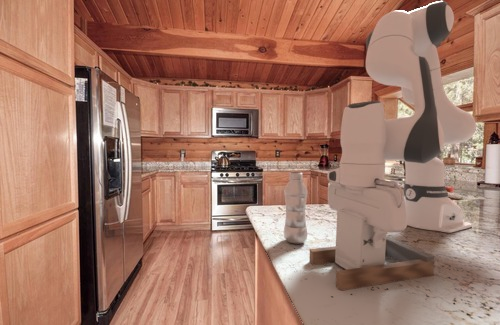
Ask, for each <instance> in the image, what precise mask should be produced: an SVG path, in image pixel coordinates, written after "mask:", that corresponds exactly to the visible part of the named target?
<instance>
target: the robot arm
mask: <svg viewBox="0 0 500 325" xmlns="http://www.w3.org/2000/svg"><path fill="white" fill-rule="evenodd" d="M454 22H455V15H454V12H453V9H452V7H450V5H449V3H448V2H446V1H444V0H440V1H435V2H432V3H428V5H426V6H423V7H420V8H416V9H414V10H411V11H408V12H407V11H405V10H392V11H390V12H388V13H386V14H384V15H383V16H382V17H381V18H379V20H378V21H377V23H376V25H375V27H374V28H373V30H371V31H370V32H369V34H368V35H367V38H366V40H365V45H366V46H365V48H366V57H365V70H366V73H367V74H368V76H369V78H370V79H372V80H373V81H374V82H377V83H379V84H380V85H381V84H382V85H384V86H392V87H400V88H401V96H402V99H403V101H404V102H405V103H406V104H409V105H412V106H413V108H414V113H413V114H412V115H403V116H400V117H397V118H388V119H386V115H385V114H386V112H385V107H384V103H383V102H382V101H380V100H368V101H363V102H362V101H361V102H355V103H350V104H348V105H346V106H345V107H344V109H343V113H342V118H341V119H342V120H341V124H340V126H341V127H340V147H341V156H340V157H341V158H340V160H339V167H337V168H335V169H333V170H332V169H331V170H330V171H328V172H327V176H326V178H327V181H329V182H328V185H327V204H328V206H329V208H330V209H331V210H332V211H333V210H334V211H336V212H337V210H338V209H348V210H350V211H353V212H356V213H358V214H361V215H363V216H365V217H367V224H369V225H372V226H374V232H376V233H375V235H374V237H370V245H371V246H372V247H374V248H376V249H377V248H381V247H382V239H384V237H385V236H386V237H387V235H388V233H389V234H392V233H401V232H404V230H405V229H407V226H409V227H412V228H416V229H421V230H426V231H427V230H429V231H436V232H437V231H438V232H443V233H449V234H451V233H454V232H458V231H459V232H460V231H462V230H465V229H470V228H472V227H473V223H470V222H468V221H466V220H464V212H463V209H462V207H461V206H459V205H458V204H457V203H455V202H454V201H453V200H452V199H451V198H449V194H448V193H451V194H452V193H453V192H454V191H455V189H454V187H453V186H448V185H447V186H446V185H445V177H446V176H445V174H446V171H445V170H446V166H445V165H446V164H445V163H444V162H443V160H442V159H440V158H439V157H438V156H439V155H441V154H442V151H443V149H444V146H448V145H456V144H461V143H466V142H468V141H469V140H470V139H471V138H473V136H474V134H475V133H476V130H477V122H476V119H475V118H474V116H473V115H472V114H471V113H470V112H468V111H466V110H463V109H461V108H459V107H458V106H457V105H455V103H453V102H452V101H451V100H450V99H449V98H448V95H447V94H446V92H445V88H444V84H443V78H442V72H441V63H440V57H439V52H438V49H437V48H439V47H440V46H441V43H443V42H444V41H445V40H447V39H448V37H449V36H450V34H451V33H452V31H453V26H454ZM386 161H395V162H396V161H397V162H403V161H404V165H405V183H403V188H402V187H401V186H400V185H399V184H398V183H397V182H396V181H392V180H389V181H388V180H386Z"/></svg>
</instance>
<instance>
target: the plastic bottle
mask: <svg viewBox="0 0 500 325" xmlns="http://www.w3.org/2000/svg"><path fill="white" fill-rule="evenodd" d="M288 174H289V176H288V179H289V181H288V182H287V184H285V187H284V190H283V194H284V195H283V196H284V202H285V203H284V204H285V222H284V228H283V237H284V239H285V241H286V242H288V243H290V244H294V245H296V244H298V245H299V244H304V243H305V242H306V241H307V239H308V228H307V222H306V207H307V206H306V204H307V198H308V189H307V187H306V185H305V183H304V182H303V180H304V177H303V172H302V171H289V172H288Z"/></svg>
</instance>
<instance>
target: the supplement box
mask: <svg viewBox="0 0 500 325" xmlns="http://www.w3.org/2000/svg"><path fill="white" fill-rule="evenodd" d="M335 228H336V230H335V231H336V233H335V246H336V252H335V262H334V263H336V264H337V265H338V266H340V267H341V268H344V269H343V270H347V269H354V268H361V267H368V266H375V265H383V264H386V255H385V249H386V237H387V235H386V236H385V237H384V239H382V247H381V248H377V249H376V248H374V247H372V246H371V245H370V237H374V235H375V233H376V232H374V226H372V225H369V224H367V217H365V216H363V215H361V214H358V213H356V212H353V211H350V210H348V209H338V210H337V211H336V227H335Z"/></svg>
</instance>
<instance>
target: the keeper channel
mask: <svg viewBox="0 0 500 325" xmlns="http://www.w3.org/2000/svg"><path fill="white" fill-rule="evenodd" d="M335 252H336V245H335V246H328V247H327V246H326V247H318V248H309V264H311V265H312V266H313V265H320V264H327V263H328V264H329V263H335ZM385 256H387V257H390V258H391V259H393V260H395V261H396V262H391V263H385V264H383V265H375V266H368V267H361V268H354V269H347V270H346V269H343V270H336V273H335V277H336V278H335V287H336V288H337V289H338V290H340V291H345V290H346V291H347V290H352V289H358V288H365V287H372V286H376V285H382V284H388V283H394V282H395V283H396V282H400V281H406V280H412V279H419V278H424V277H431V276H435V263H436V260H435V259H436V256H434V255H432V254H430V253H427V252H425V251H423V250H420V249H418V248H416V247H413V246H411V245H409V244H407V243H404V242H402V241H399V240H397V239H395V238H393V237H390V236H386V249H385Z"/></svg>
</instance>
